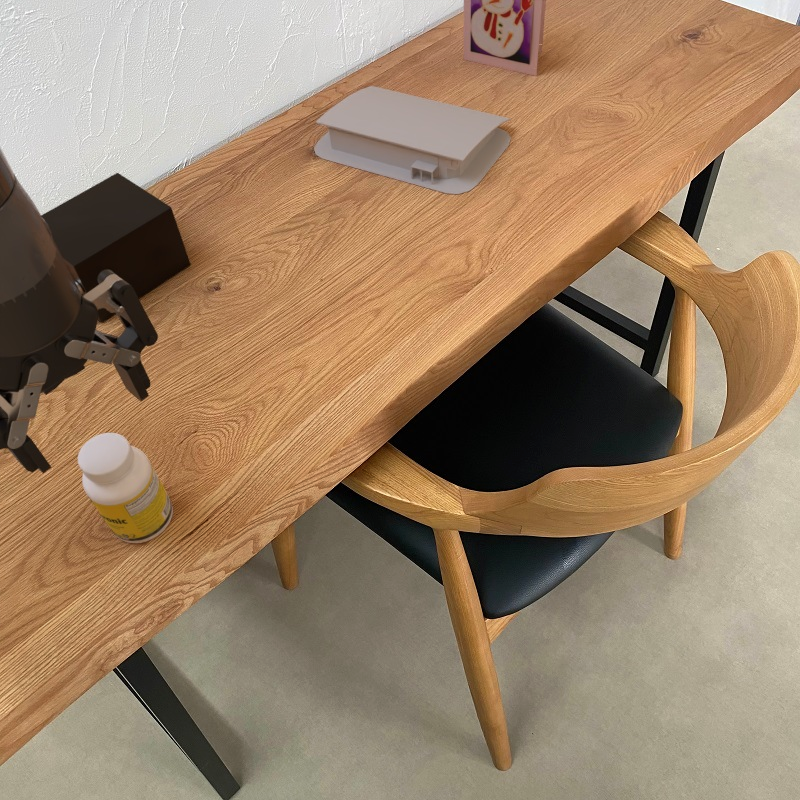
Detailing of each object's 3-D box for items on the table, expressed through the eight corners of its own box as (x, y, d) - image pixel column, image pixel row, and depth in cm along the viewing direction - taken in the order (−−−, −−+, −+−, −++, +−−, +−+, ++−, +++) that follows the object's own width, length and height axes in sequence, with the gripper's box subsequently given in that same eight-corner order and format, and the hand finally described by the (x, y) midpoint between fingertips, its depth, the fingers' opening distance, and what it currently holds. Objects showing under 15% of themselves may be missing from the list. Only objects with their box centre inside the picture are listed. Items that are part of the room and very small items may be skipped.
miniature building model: (466, 199, 94) (466, 170, 91) (305, 153, 102) (300, 126, 99) (518, 132, 102) (520, 104, 99) (365, 95, 110) (363, 68, 107)
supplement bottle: (99, 520, 69) (54, 454, 61) (150, 480, 71) (113, 412, 63) (135, 557, 66) (93, 493, 59) (187, 515, 69) (153, 448, 61)
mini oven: (95, 327, 84) (66, 270, 78) (45, 287, 89) (14, 229, 83) (191, 265, 90) (171, 206, 83) (140, 229, 94) (117, 172, 88)
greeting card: (460, 62, 115) (460, -49, 103) (483, 39, 119) (486, -71, 107) (533, 78, 111) (542, -36, 99) (555, 54, 115) (565, -58, 103)
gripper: (59, 179, 51) (140, 350, 64) (-157, 299, 45) (-21, 462, 58) (126, 224, 48) (197, 396, 60) (-99, 361, 42) (33, 520, 54)
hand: (91, 428), depth 59 cm, fingers open, 8 cm apart
